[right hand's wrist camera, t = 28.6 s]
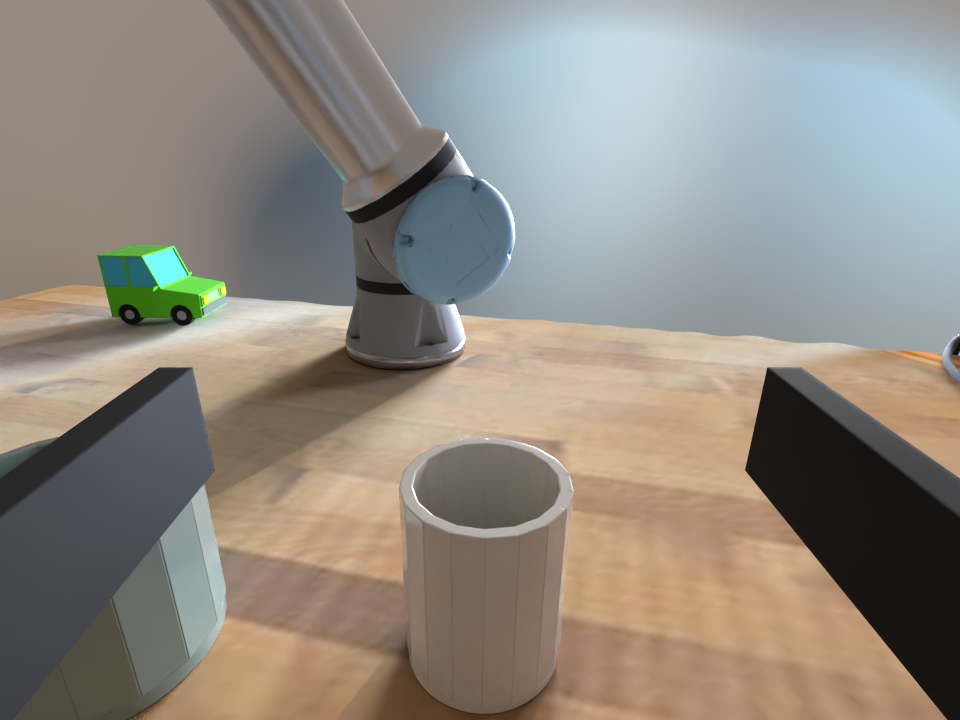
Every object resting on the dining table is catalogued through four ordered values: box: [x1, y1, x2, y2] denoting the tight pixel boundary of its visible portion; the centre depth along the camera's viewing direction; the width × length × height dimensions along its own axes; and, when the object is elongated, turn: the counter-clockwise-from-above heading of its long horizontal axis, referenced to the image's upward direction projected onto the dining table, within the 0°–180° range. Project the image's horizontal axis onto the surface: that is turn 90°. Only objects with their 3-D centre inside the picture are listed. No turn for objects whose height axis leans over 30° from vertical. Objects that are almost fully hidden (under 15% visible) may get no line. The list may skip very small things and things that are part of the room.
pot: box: [0, 437, 226, 720], centre depth 27 cm, size 12×12×10 cm
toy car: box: [98, 245, 227, 326], centre depth 79 cm, size 10×13×10 cm
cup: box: [399, 438, 574, 714], centre depth 27 cm, size 8×8×10 cm
